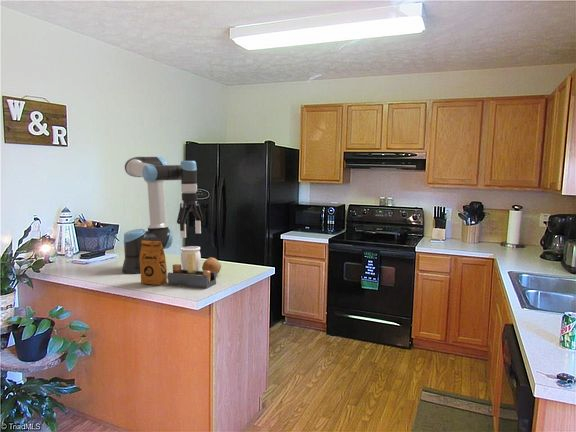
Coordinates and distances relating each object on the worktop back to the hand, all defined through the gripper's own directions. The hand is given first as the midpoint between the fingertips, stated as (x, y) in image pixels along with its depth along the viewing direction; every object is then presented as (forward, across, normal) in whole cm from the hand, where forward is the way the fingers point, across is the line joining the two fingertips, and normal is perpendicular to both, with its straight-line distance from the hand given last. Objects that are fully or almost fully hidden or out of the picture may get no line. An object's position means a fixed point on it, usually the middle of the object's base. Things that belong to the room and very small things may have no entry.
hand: (191, 235), depth 210 cm
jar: (+25, +17, +11) cm, 32 cm away
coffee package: (+25, -5, +20) cm, 32 cm away
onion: (+25, +18, -1) cm, 31 cm away
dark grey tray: (+25, 0, 0) cm, 25 cm away
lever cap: (+22, 0, 0) cm, 22 cm away
